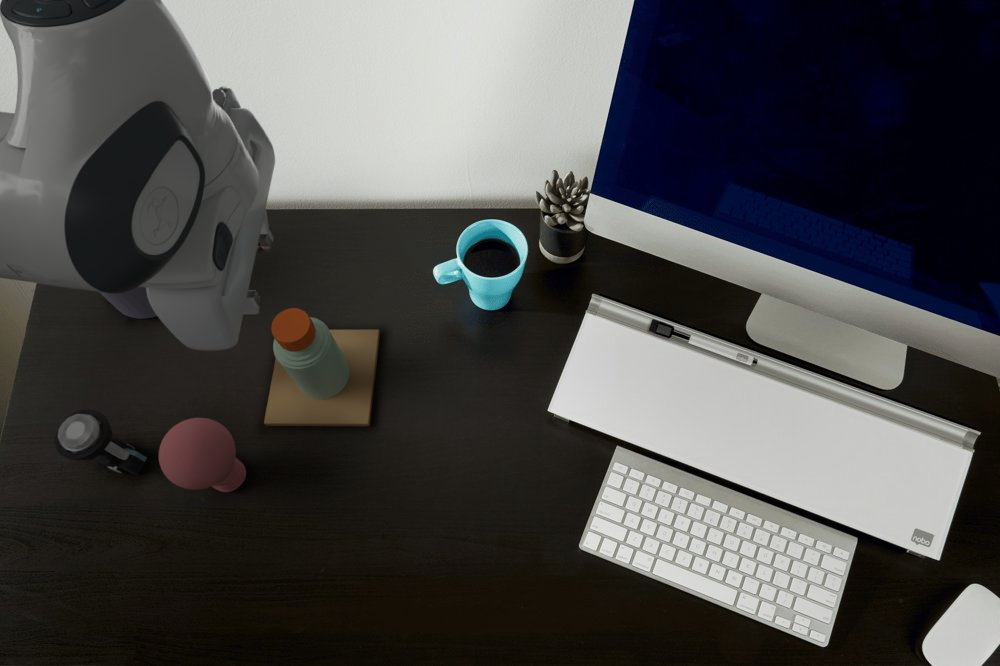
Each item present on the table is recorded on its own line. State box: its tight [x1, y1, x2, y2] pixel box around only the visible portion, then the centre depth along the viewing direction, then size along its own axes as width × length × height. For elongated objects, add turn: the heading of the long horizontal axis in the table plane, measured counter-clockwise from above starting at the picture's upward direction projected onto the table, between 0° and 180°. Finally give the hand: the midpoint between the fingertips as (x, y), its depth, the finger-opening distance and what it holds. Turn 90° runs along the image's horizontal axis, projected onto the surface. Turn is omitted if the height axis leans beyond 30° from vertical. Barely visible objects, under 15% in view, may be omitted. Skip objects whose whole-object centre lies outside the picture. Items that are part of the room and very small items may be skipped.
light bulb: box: [158, 417, 247, 493], centre depth 75 cm, size 7×7×12 cm
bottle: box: [272, 316, 350, 399], centre depth 79 cm, size 6×6×12 cm
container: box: [98, 287, 158, 320], centre depth 86 cm, size 10×10×15 cm
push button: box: [54, 408, 148, 476], centre depth 78 cm, size 7×5×10 cm
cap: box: [270, 307, 316, 352], centre depth 75 cm, size 4×4×2 cm
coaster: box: [263, 329, 381, 427], centre depth 85 cm, size 12×12×1 cm
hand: (258, 276), depth 65 cm, fingers open, 5 cm apart
